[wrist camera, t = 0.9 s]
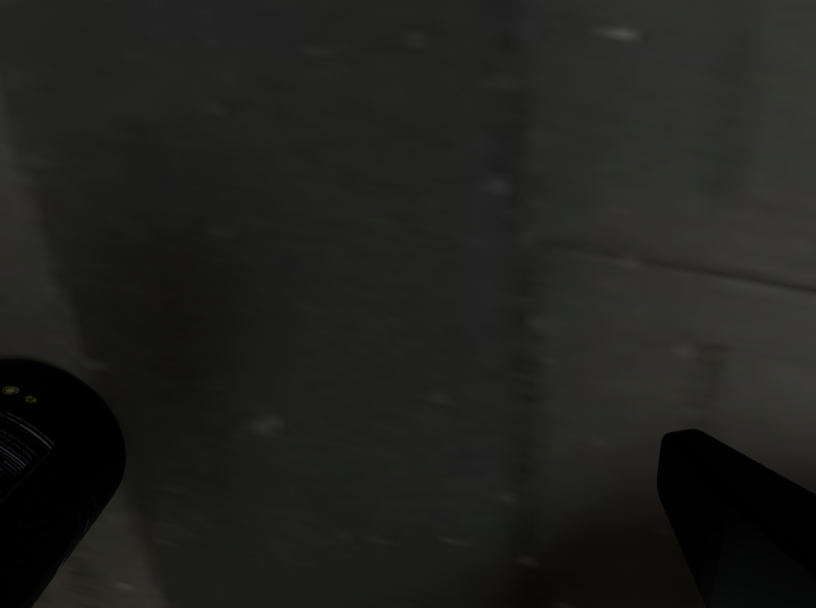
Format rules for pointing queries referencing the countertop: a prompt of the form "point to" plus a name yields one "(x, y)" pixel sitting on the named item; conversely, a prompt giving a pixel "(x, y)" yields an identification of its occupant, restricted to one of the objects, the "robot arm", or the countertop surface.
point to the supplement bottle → (50, 473)
